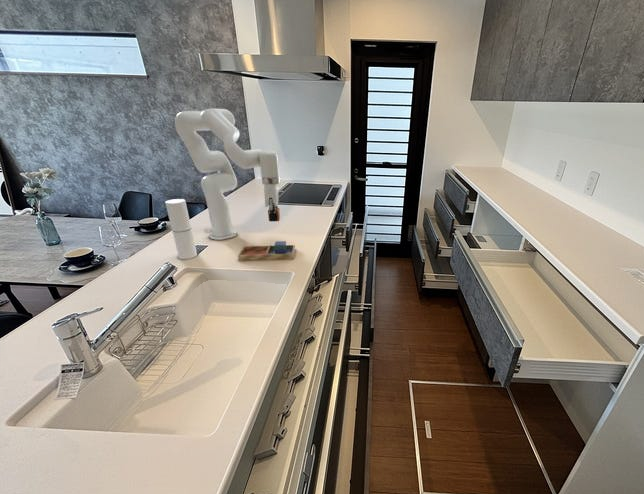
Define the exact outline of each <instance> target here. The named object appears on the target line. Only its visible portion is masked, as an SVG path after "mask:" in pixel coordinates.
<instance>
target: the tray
mask: <svg viewBox="0 0 644 494" xmlns="http://www.w3.org/2000/svg"><path fill="white" fill-rule="evenodd" d="M286 248H287V252H286V254H275V247H274V245H246V246H245V245H244V246H243V247H242V248H241V250H240V252H239V253H238V255H237V259H238V261H239V262H243V261H244V262H247V261H275V260H277V261H278V260H294V257H295V254H296V253H295V252H296V245H295V244H286Z"/></svg>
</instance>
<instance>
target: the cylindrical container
mask: <svg viewBox="0 0 644 494" xmlns="http://www.w3.org/2000/svg"><path fill="white" fill-rule="evenodd" d="M164 203H165V208H166V211H167V215H168V219H169V220H168V221H169V223H170V227H171V231H172V235H173V239H174V242H175V243H174V244H175V247H176V252H177V256H178V259H179V260H189V259H192V258H193V259H194V258H195V257H196V256H197V255H198V252H197V247H196V243H195V239H194V234H193V229H192V224H191V220H190V216H189V211H188V207H187V206H188V205H187V202H186V199H184V198H173V199H168V200H165V202H164Z"/></svg>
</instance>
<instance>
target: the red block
mask: <svg viewBox="0 0 644 494" xmlns="http://www.w3.org/2000/svg"><path fill="white" fill-rule="evenodd" d="M276 213H277V221H276V222H280V220H281V212H280V207H278V208H276ZM267 216H268V217H267V218H268V222H271V221H270V216H269V209H268V210H267Z"/></svg>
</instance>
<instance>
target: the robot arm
mask: <svg viewBox="0 0 644 494" xmlns="http://www.w3.org/2000/svg"><path fill="white" fill-rule="evenodd" d="M235 124H236V119H235V116H234V114H233V113H232V112H231V111H230V110H228V109H225V108H206V109H203V110H184V111H180V112H178V113H177V114H176V116H175V118H174V126H175V129H176V132H177V134H178V136H179V137H180V139H181V140H182V142H183V144H184V145H185V147H186V149H187V152H188V154H189V156H190V158H191V160H192V162H193V164H194V166H195V168H196V170H197V171H198V172H200V173H205V174H207V173H211V174H207V175H205V176H203V178H202V179H201V180H200V187H201V190H202V192H203V195H204V197H205V201H206V206H207V210H208V215H209V221H210V227H204V228H203V232H204V233H205V234H209V238H210V239H211V240H216V241H222V240H223V241H224V240H228V239H232V238H234V237H236V236H237V231H236V230H235V229H233V223H232V218H231V212H230V205H229V201H228V199H227V198H226V196H225V195H224V193H226V192H227V193H228V192H231V191H234V190H235V189H236V188H237V187H238V179H237V176H236V173H235V171H234V170H233V166H232V164H231V163H230V160H231V161H232V162H233V163H234V164H235V165H236V166H238V167H239V168H241V169H245V170H248V169H252V168H253V169H254V168H260V177H261V184H262V185H263V194H264V195H263V196H264V206H265V207H266V208H267V207H268V210H269V216H270V221H269V222H278V221H277V213H276V208H279V207H278V204H279V201H280V200H279V199H280V198H279V188H278V185H280V184H281V181H280V170H279V159H278V158H279V157H278V153H277V152H276V151H274V150H265V149H264V150H263V149H260V148H254V149H246V150H245V149H242V148H241V147H240V146H239V145H238V144H237V141H238V140H239V138H240V131H239V129H238V128H237V127H236V126H235ZM202 131H203V132H204V131H210V132H212V133H213V134H214V135H215V136H216V137H217V138H218V139H219V140H220V141H221V142H222V143H223V148H224V151H225V153H226V154H225V153H224V152H222V151H221V150H210V149H209V147H208V145H207V142H206V141H205V140H204V138H203V137H202V136H201V135H200V134H199V133H197V132H202ZM229 159H230V160H229ZM213 172H216V173H213Z"/></svg>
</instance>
